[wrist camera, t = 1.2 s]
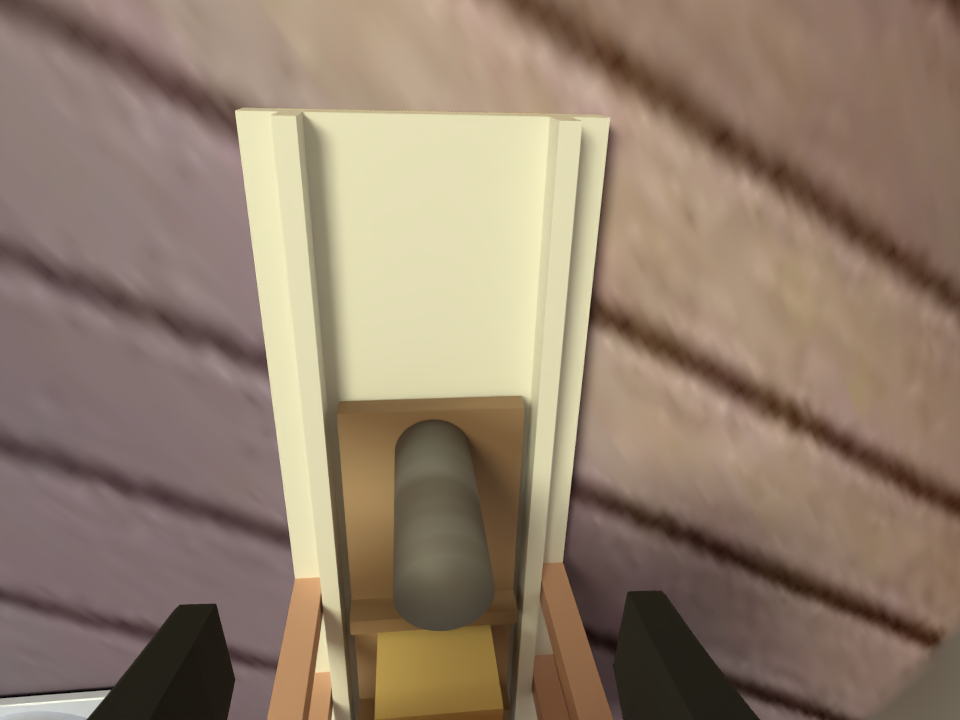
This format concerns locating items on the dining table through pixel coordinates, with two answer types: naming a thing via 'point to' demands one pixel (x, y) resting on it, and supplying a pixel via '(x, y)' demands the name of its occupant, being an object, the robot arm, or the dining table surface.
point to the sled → (430, 520)
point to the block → (437, 675)
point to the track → (425, 346)
